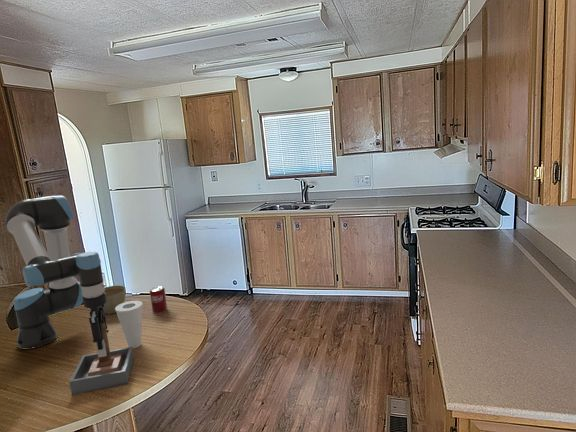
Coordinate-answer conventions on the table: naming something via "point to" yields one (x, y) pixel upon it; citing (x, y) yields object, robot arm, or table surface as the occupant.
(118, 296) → the planter bowl
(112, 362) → the box
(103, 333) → the peg
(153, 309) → the soda can
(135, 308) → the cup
